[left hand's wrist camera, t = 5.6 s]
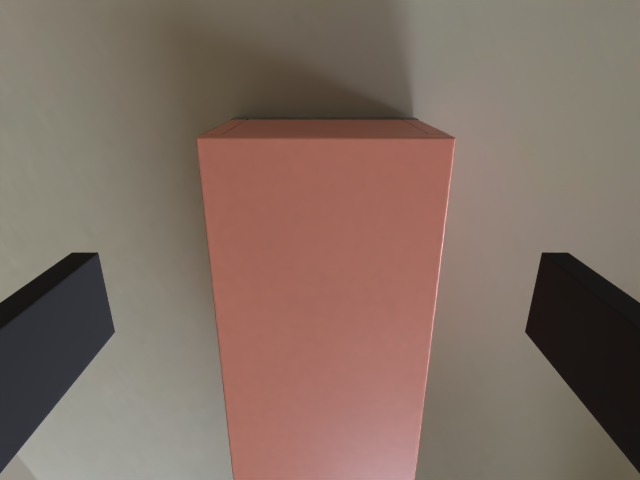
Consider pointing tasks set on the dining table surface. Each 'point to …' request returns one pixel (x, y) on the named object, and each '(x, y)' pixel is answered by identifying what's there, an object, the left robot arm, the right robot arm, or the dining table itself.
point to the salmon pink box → (324, 289)
